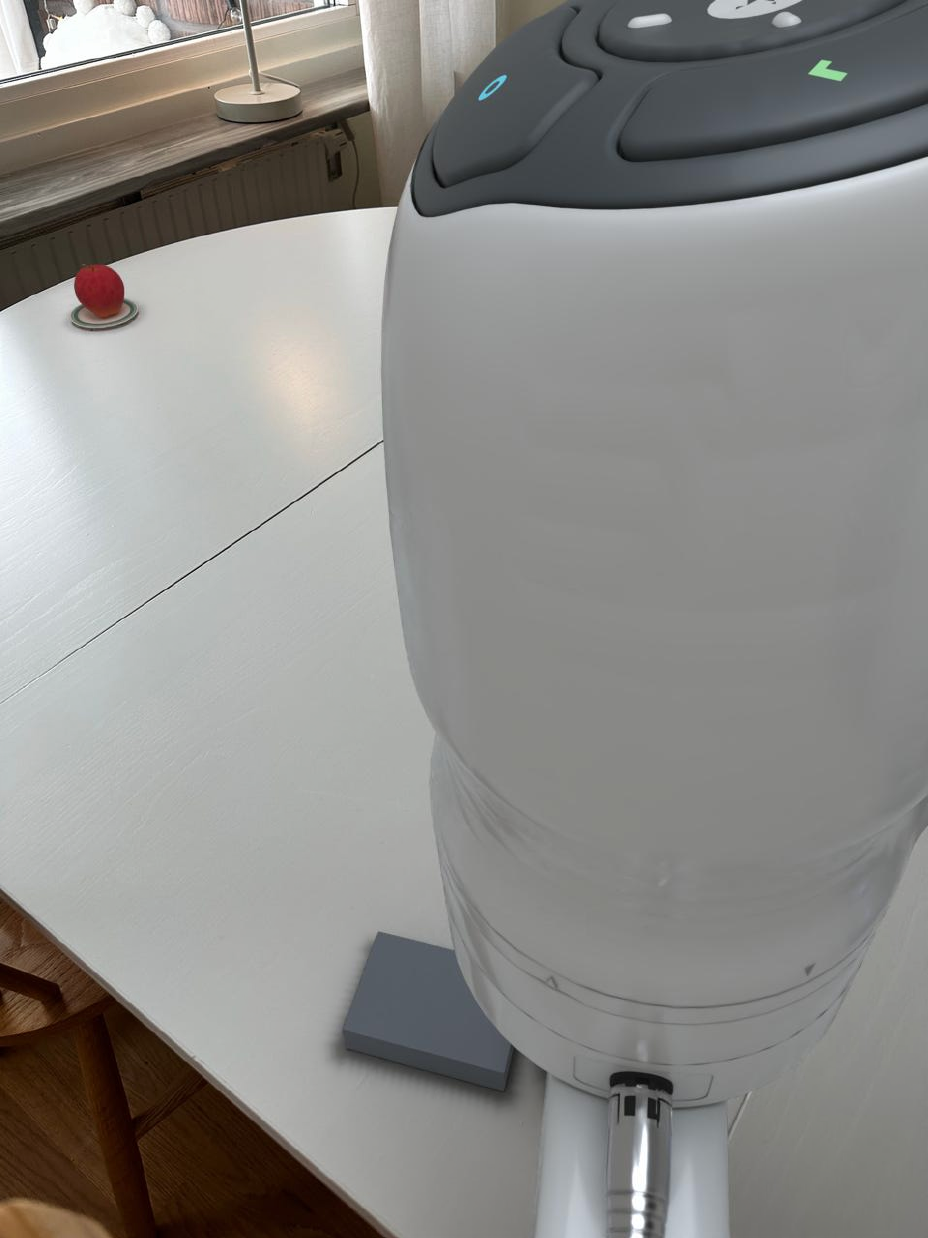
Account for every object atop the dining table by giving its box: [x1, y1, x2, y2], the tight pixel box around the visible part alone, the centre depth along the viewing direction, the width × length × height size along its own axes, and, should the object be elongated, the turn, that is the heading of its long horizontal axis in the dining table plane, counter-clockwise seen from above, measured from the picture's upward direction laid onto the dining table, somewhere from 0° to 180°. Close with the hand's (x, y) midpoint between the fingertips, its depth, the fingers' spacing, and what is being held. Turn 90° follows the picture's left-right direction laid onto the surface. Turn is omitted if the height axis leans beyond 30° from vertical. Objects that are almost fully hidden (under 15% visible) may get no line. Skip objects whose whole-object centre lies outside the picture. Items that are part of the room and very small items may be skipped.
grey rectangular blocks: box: [342, 930, 515, 1092], centre depth 56 cm, size 18×13×2 cm
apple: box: [69, 263, 139, 329], centre depth 117 cm, size 8×8×6 cm
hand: (619, 1097), depth 30 cm, fingers open, 8 cm apart
